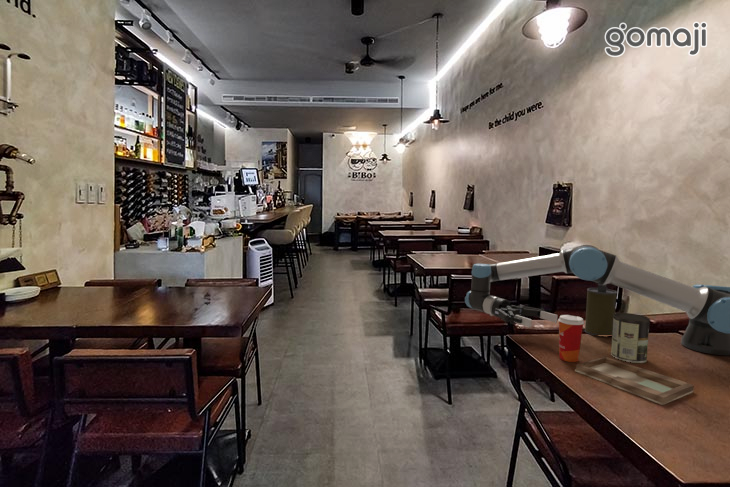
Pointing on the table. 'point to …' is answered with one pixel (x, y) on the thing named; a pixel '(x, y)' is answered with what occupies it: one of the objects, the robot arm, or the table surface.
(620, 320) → the coffee can
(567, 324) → the paper cup
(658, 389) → the seat pad
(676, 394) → the keyhole slot
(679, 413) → the table surface
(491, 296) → the robot arm
